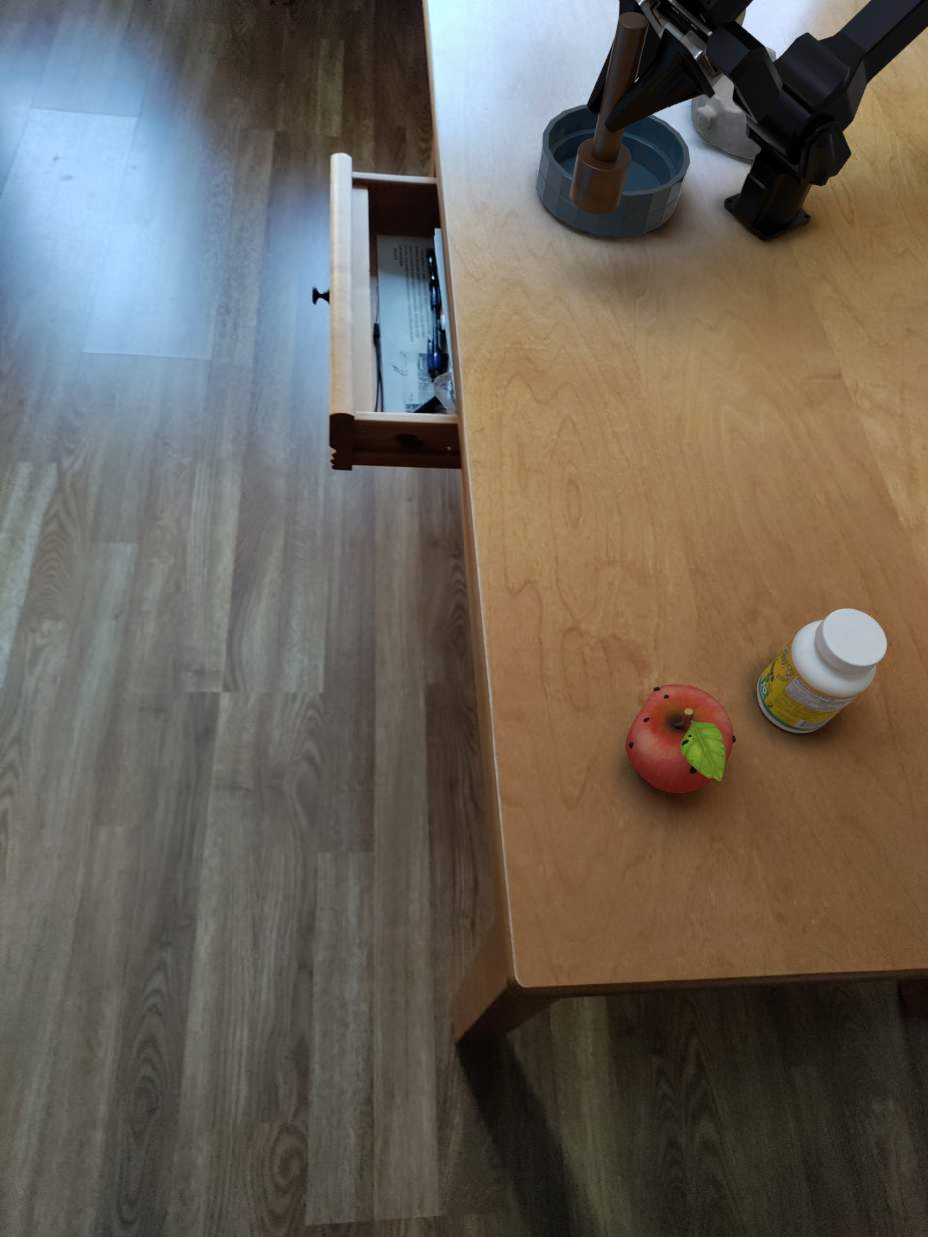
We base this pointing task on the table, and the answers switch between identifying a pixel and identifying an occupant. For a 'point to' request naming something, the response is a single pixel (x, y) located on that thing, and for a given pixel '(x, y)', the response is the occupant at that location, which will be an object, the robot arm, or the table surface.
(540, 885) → the table surface
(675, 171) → the bowl
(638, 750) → the apple
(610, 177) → the pestle
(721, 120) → the dish
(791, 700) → the supplement bottle
